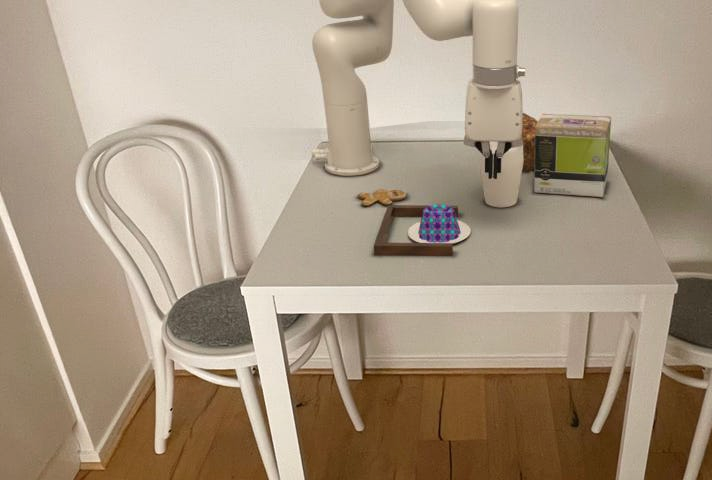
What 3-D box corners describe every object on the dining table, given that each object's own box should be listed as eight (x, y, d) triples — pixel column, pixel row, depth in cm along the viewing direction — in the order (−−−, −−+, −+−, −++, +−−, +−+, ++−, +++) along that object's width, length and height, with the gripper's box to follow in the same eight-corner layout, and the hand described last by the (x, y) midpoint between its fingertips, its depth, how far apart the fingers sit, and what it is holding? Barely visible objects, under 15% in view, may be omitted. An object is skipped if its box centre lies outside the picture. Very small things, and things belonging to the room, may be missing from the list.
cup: (519, 211, 154) (520, 154, 148) (475, 208, 156) (474, 152, 149) (525, 195, 162) (527, 140, 155) (484, 192, 163) (483, 137, 157)
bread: (484, 149, 186) (484, 108, 181) (524, 144, 189) (525, 104, 184) (513, 175, 172) (514, 131, 166) (556, 168, 175) (558, 126, 169)
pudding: (471, 221, 150) (471, 197, 147) (469, 248, 140) (469, 222, 137) (411, 221, 150) (409, 197, 148) (404, 248, 140) (403, 222, 138)
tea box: (607, 181, 168) (612, 115, 160) (603, 199, 159) (608, 129, 151) (540, 176, 170) (542, 111, 163) (532, 193, 162) (534, 125, 154)
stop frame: (374, 255, 138) (373, 245, 137) (388, 214, 154) (388, 204, 153) (452, 255, 138) (451, 246, 137) (458, 214, 153) (458, 205, 152)
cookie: (355, 190, 162) (401, 184, 165) (356, 194, 162) (401, 188, 165) (362, 204, 155) (410, 198, 158) (363, 209, 156) (410, 202, 158)
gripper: (537, 69, 132) (533, 169, 142) (452, 68, 133) (453, 167, 143) (538, 81, 126) (534, 185, 136) (449, 79, 126) (450, 183, 136)
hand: (492, 176), depth 139 cm, fingers closed
